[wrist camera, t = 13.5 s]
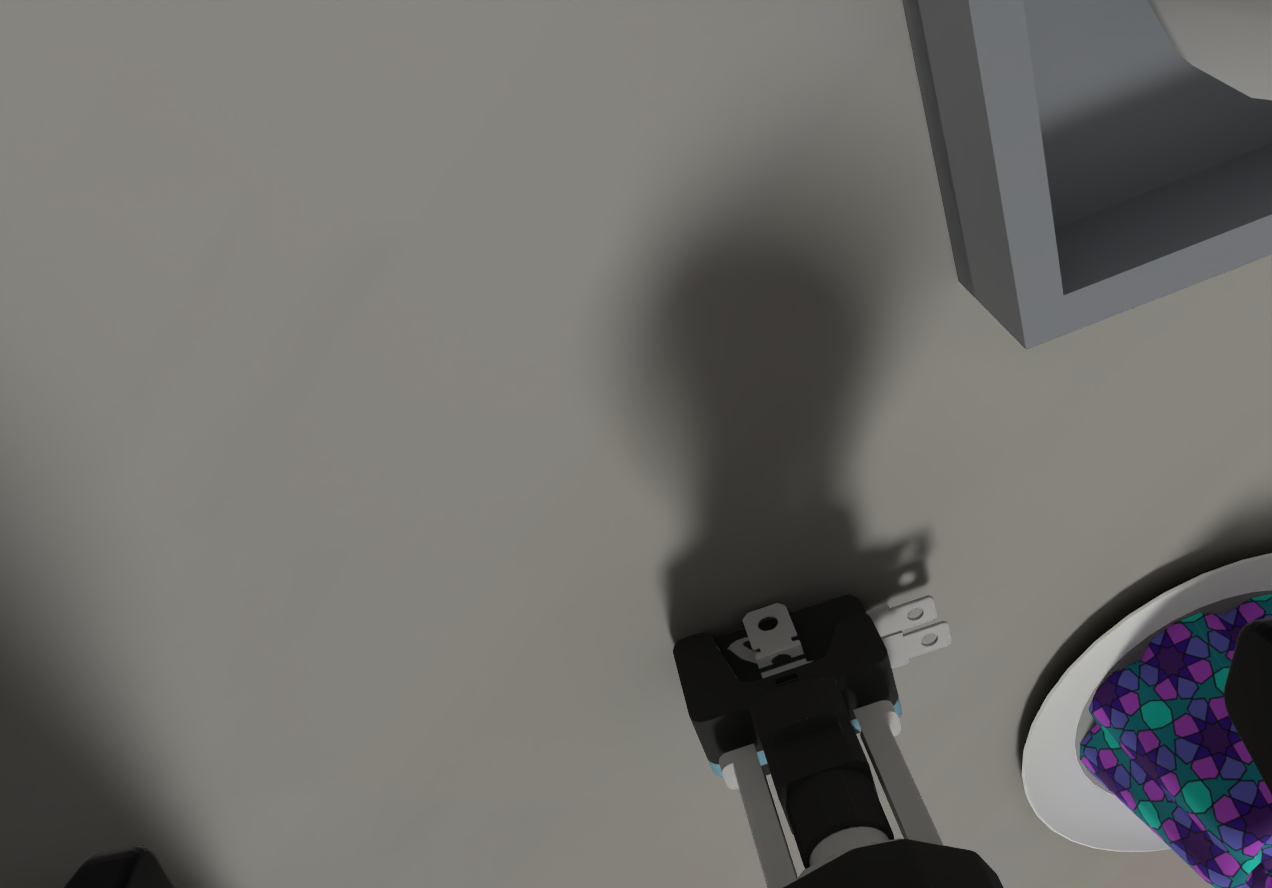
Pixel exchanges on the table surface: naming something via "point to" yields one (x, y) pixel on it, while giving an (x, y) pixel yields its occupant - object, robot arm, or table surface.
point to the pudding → (1160, 738)
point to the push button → (823, 742)
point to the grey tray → (1085, 158)
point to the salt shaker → (1223, 39)
